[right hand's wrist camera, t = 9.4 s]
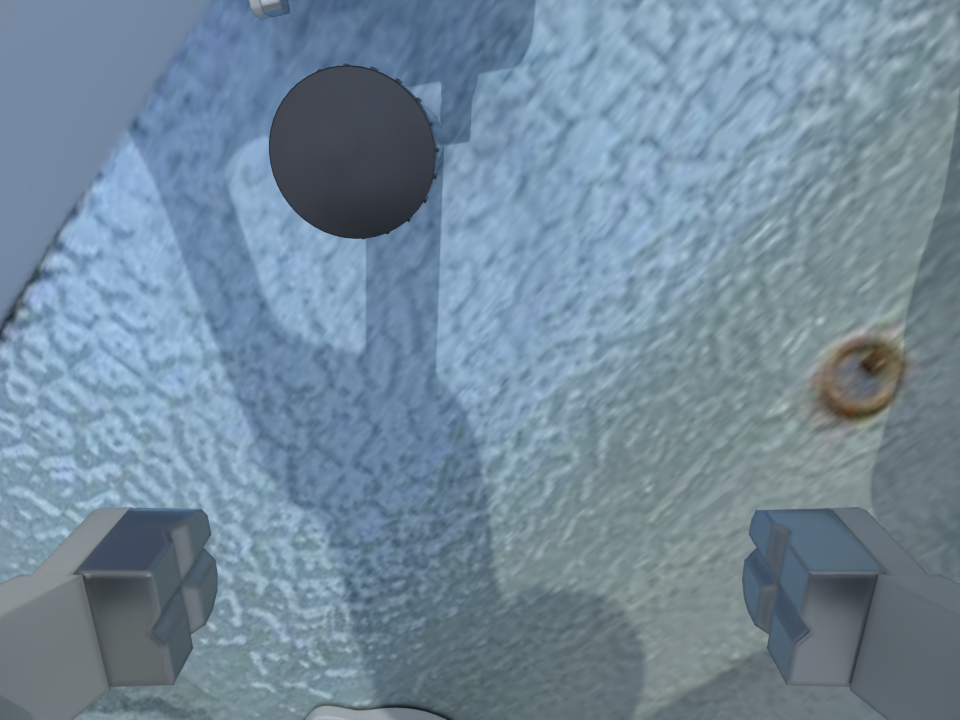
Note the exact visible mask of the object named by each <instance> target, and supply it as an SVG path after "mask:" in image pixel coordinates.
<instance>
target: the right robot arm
mask: <svg viewBox="0 0 960 720" xmlns="http://www.w3.org/2000/svg"><path fill="white" fill-rule="evenodd" d="M210 536H211V530H210V525H209V520H208V515H207V514H206V513H205V512H204V511H203V510H202V509H171V508H131V507H124V508H100V509H96V510H93V511H92V512H91V513H90V514H89V516H88V517H87V518H86V519H85V520H84V521H83V522H82V523H81V524H80V525H79V526H78V527H77V528H76V529H75V530H74V531H73V532H72V533H71V534H70V535H69V536H68V537H67V538H66V539H65V540H64V541H63V542H62V543H61V545H60V546H59V547H58V548H57V549H56V550H55V551H54V552H53V553H52V554H51V555H50V556H49V557H48V558H47V559H46V560H45V561H44V562H43V563H42V564H41V565H40V566H39V567H38V568H37V569H36V570H35V571H34V573H33V574H32V575H18V576H16V577H14V578H12V579H10V580H8V581H6V582H3V583H1V584H0V720H73V719H75V718H76V717H77V716H78V715H80V714H81V713H82V712H83V711H85V710H86V709H87V708H88V707H89V706H91V705H92V704H93V703H94V702H96V701H97V700H98V699H99V698H101V697H102V696H103V695H104V694H106V693H107V692H108V691H109V690H110V688H109V687H119V686H154V685H174V683H175V681H176V679H177V677H178V675H179V673H180V672H181V670H182V668H183V666H184V664H185V662H186V660H187V658H188V657H189V655H190V653H191V651H192V649H193V645H192V639H191V634H193V633H194V632H196V631H197V630H198V629H200V628H201V627H203V626H204V625H205V624H206V622H207V620H208V618H209V616H210V614H211V612H212V610H213V607H214V602H215V598H216V594H217V576H218V574H217V567H216V560H215V559H214V558H213V557H212V556H211V555H210V554H209V553H208V552H207V551H206V550H205V549H204V548H203V547H204V546H205V544H206V542H207V541H208V539H209V537H210ZM749 536H750V537H751V539H752V541H753V542H754V544H755V546H756V547H757V548H756V549H755V550H754V551H753V552H752V553H751V554H750V555H749V556H748V557H747V558H746V559H745V560H744V568H743V576H742V583H743V593H744V600H745V603H746V606H747V610H748V613H749V615H750V617H751V619H752V621H753V623H754V624H755V625H756V626H757V627H759V628H760V629H762V630H763V631H764V632H766V633H767V634H769V639H768V645H767V649H768V651H769V653H770V655H771V657H772V658H773V660H774V662H775V664H776V666H777V668H778V670H779V671H780V673H781V675H782V677H783V679H784V681H785V683H786V684H787V685H805V686H840V687H850V690H851V691H852V692H853V693H855V694H856V695H857V696H858V697H860V698H861V699H862V700H863V701H865V702H866V703H867V704H868V705H870V706H871V707H872V708H873V709H874V710H876V711H877V712H878V713H879V714H881V715H882V716H883V717H884V718H886V719H887V720H960V584H959V583H957V582H954V581H952V580H950V579H948V578H946V577H944V576H942V575H928V574H927V572H926V571H925V570H924V569H923V568H922V567H921V566H920V565H919V564H918V563H917V562H916V561H915V560H914V559H913V558H912V557H911V556H910V555H909V554H908V553H907V552H906V551H905V550H904V549H903V548H902V547H901V545H900V544H899V543H898V542H897V541H896V540H895V539H894V538H893V537H892V536H891V535H890V534H889V533H888V532H887V531H886V530H885V529H884V528H883V527H882V526H881V525H880V524H879V523H878V522H877V521H876V520H875V518H874V517H873V516H872V515H871V514H870V513H869V512H868V511H866V510H864V509H861V508H859V507H847V508H824V509H788V510H756V511H755V513H754V515H753V517H752V519H751V524H750V530H749ZM305 720H447V719H445V718H442V717H440V716H438V715H435V714H432V713H429V712H425V711H421V710H416V709H409V708H381V709H372V710H352V709H347V708H342V707H336V706H320V707H317V708H316V709H314V710H313V711H312V712H311V713H310V714H309V715H308V717H307V718H306V719H305Z"/></svg>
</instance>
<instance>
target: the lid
mask: <svg viewBox="0 0 960 720" xmlns="http://www.w3.org/2000/svg"><path fill="white" fill-rule="evenodd" d="M421 101H422V100H421V99H420V98H418V97H417V98H416V97H415V96H414V95H413V94H412V93H411V92H410V91H409V90H408V89H407V88H406V87H404V86H403V85H402V81H400V80H399V79H397V78H396V80H394V79H392V78H390V77H388V76H387V75H385V74H383V73H380V72H378V69H376V68H374V67H371V69H369V68H365V67H360V66H351V65H348V64H344V66H335V67H330V68H326V69H323V70H321V69H320V70H317V72H315V73H313V74H311V75H309V76H307V77H306V78H304V79H303V80H302V81H300V82H299V83H298V84H296V85H295V86H294V87H293V88H292V89H291V90H290V91H289V93H288V94H287V95H286V96H285V98H284V99H283V101H282V102H281V104H280V106H279V107H278V109H277V112H276V114H275V117H274V119H273V123H272V127H271V130H270V138H269V156H270V163H271V168H272V171H273V175H274V178H275V180H276V183H277V186H278V187H279V189H280V191H281V193H282V195H283V197H284V198H285V199H286V201H287V202H288V204H289V205H290V206H291V207H292V208H293V209H294V211H295V212H296V213H297V214H298V215H299V216H301V217H302V218H303V219H304V220H305V221H307V222H308V223H310V224H311V225H313V226H314V227H316V228H318V229H320V230H322V231H324V232H326V233H329V234H332V235H335V236H339V237H343V238H352V239H365V238H371V237H376V236H379V235H382V234H389V233H390V232H391V231H392V230H394V229H396V228H397V227H399V226H401V225H402V224H404V223H405V222H406V221H408V222H409V221H410V220H411V219H412V217H413V215H414V213H415V212H416V211H417V210H418V209H419V207H420V206H421V204H422V203H423V202H424V203H426V201H427V200H428V198H429V197H428V196H427V195H428V193H429V191H430V189H431V187H432V184H433V181H434V179H436V178H437V176H438V174H437V173H436V170H437V161H438V152H439V151H440V148H437V141H436V135H435V132H434V129H433V125H435V124H434V122H431V121H430V118H429V116H428V114H427V112H426V111H425V109H424V108H423V106H422V104H421V103H420V102H421Z"/></svg>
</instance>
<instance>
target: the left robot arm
mask: <svg viewBox="0 0 960 720" xmlns="http://www.w3.org/2000/svg"><path fill="white" fill-rule="evenodd" d="M249 4H250V7H251V10H252V12H253V14H254V16H255V17H257V18H259V19H266V18H270V17H275V16H280V15H284V14H289V13H290V8H289V3H288V0H249Z"/></svg>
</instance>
